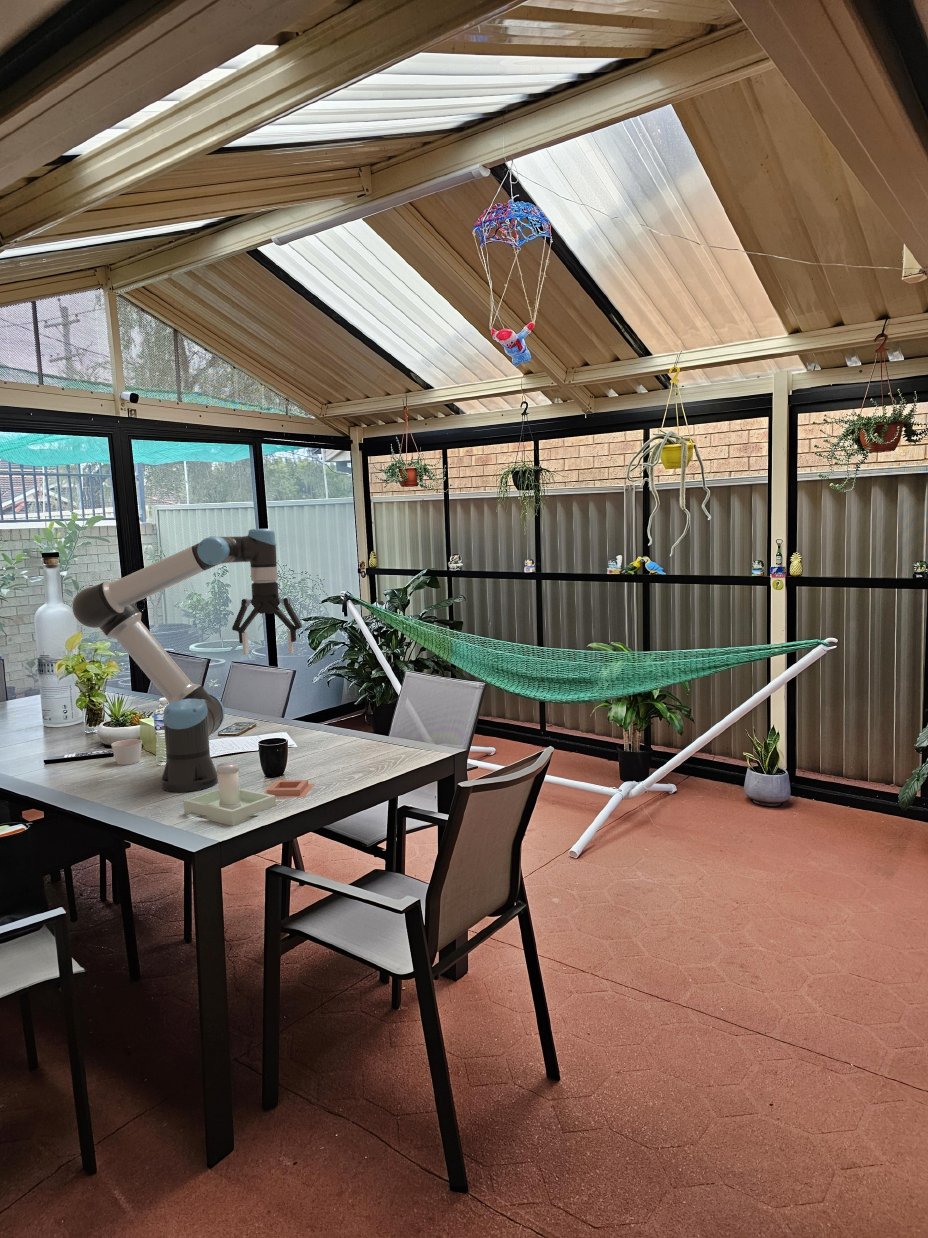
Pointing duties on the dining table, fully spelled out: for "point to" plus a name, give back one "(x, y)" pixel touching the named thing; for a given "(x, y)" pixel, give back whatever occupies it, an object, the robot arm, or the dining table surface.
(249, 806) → the tray
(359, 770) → the dining table surface
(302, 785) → the orange square coaster
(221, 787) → the cylinder
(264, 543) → the robot arm
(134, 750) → the pink cup
